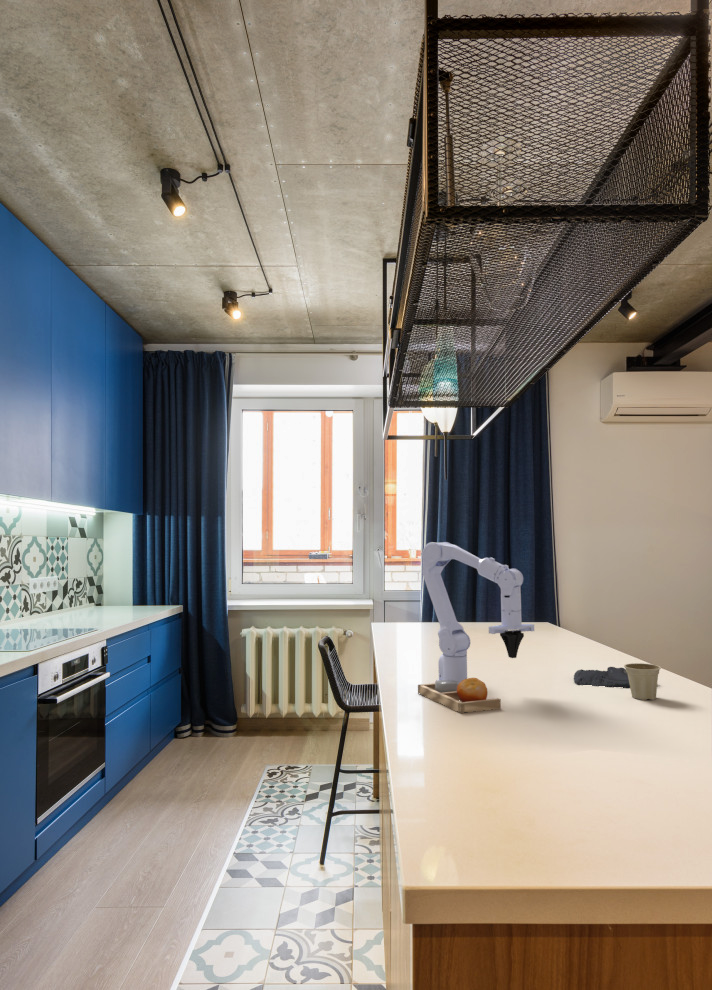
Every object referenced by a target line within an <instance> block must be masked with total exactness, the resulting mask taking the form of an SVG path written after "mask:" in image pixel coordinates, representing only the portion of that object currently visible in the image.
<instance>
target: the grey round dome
mask: <svg viewBox="0 0 712 990" xmlns="http://www.w3.org/2000/svg"><path fill="white" fill-rule="evenodd" d="M437 680H438V681H436V680H435V682H434V683H435V691H438V692H440V693H444V692H454V691H457V686H458V685H459V683H458V682H457V681H454V680H439V679H437Z"/></svg>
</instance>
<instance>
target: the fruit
mask: <svg viewBox="0 0 712 990" xmlns="http://www.w3.org/2000/svg"><path fill="white" fill-rule="evenodd" d="M457 694H458V696H459V698H460V700H461V701H460V702H469V701H478V700H487V699H488V687H487V685H486V683H485V682H484V681H483V680H480V679H479V678H477V677H470V678H468V677H467V679H464V680H462V681H461V682H460V683H459V685H458V686H457Z"/></svg>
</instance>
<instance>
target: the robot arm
mask: <svg viewBox="0 0 712 990" xmlns="http://www.w3.org/2000/svg"><path fill="white" fill-rule="evenodd" d="M420 555H421V558H422V569H421V572H422V577H423V579H424V583H425V586H426V588H427V592H428V594H429V598H430V600H431V603H432V606H433V609H434V612H435V615H436V617H437V620H438V624H439V629H438V632H437V635H438V646H439V649H440V651H441V652H442V654H441V655H440V656H439V658H438V662H437V663H438V679H436V680H435V681H438V680H454V681H457V682H458V683H460V682H461V681H462V680H464V679H468V655H467V654H468V650H469V649H470V647H471V637H470V636H469V634H467V631H465V629H464V627H463V625H462V624H460V622H459V621H458V620H457V617H456V613H455V611H454V609H453V606H452V603H451V601H450V597H449V594H448V591H447V589H446V586H445V583H444V580H443V577H442V572H443V570H444V569H445V567H446V566H447V565H448V564H449V562H450V561H451V560H456V561H458V562H460V563H462V564H465V565H467V566H468V567H469V566H470V567H471V568H474V569H476V571H477V573H478V575H479V576H481V577H483V578H485V579H487V580H490V581H491V582H493V583H495V584H497V586H498V587H499V588H500V613H501V614H500V615H501V616H500V617H501V619H500V620H501V625H498V624H497V625H492V626H488V634H492V635H496V634H499V635H500V638H501V639H502V641H503V644H504V645H505V648H506V653H507V656H508V658H510V659H517V655H518V652H519V651H518V650H519V647H520V644H521V643H522V640H523V639H524V637H525V636H524V635H525V634H524V632H535V624H532V623H522V594H521V586H522V585H523V583H524V576H523V573H522V572H521V571H520V570H518V568H515V567H514V568H513V567H512V568H509V565H507V564H502V563H500V562H498V561H496V558H493V557H484V558H481V557H478V556H476V555H474V554H472V553H471V552H469V551H467V550H465V549H464V548H461V547H460V546H459V545H457V544H452V543H450V542H448V541H443V542H433V541H429V542H428V543H426V544H425V546H424V547H423V550H422V551H421V553H420Z"/></svg>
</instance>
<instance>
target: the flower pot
mask: <svg viewBox="0 0 712 990" xmlns="http://www.w3.org/2000/svg"><path fill="white" fill-rule="evenodd" d="M623 668H624V669H626V672H627V673H628V678H629V683H630V694H631V697H632V698H634V699H636V700H642V701H647V700H651V701H652V700H653V701H654V700H656V699H657V691H658V680H659V674H660V670H661V668H662V667H661V666H660V665H658V664H657V665H656V664H652V663H643V662H642V663H641V662H640V663H638V662H636V663H626V664H624V665H623Z"/></svg>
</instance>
